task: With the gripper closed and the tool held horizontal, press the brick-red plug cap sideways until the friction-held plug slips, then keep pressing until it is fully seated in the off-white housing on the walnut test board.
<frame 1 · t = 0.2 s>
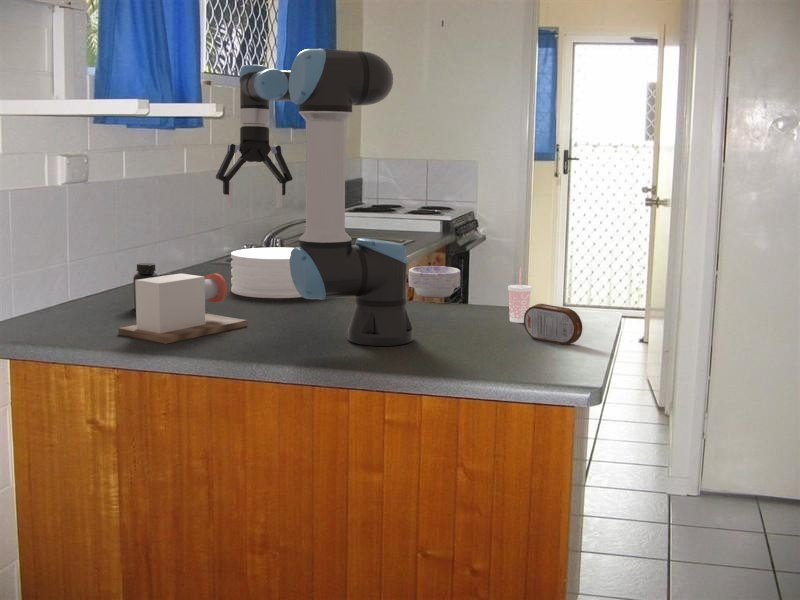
hand: (254, 207, 261), 27 cm above the worktop, tool pointing down, fingers open, 13 cm apart
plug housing: (170, 302, 232), on the test board, point 7 cm above the worktop
beverage cup: (518, 321, 255), on the worktop
plate stack: (278, 291, 297), on the worktop
tin: (551, 342, 231), on the worktop
plug: (195, 291, 238), point 9 cm above the worktop, slide at 0.0 cm
paper bowls: (434, 296, 292), on the worktop
test board: (171, 332, 233), on the worktop
supplement bottle: (146, 309, 264), on the worktop
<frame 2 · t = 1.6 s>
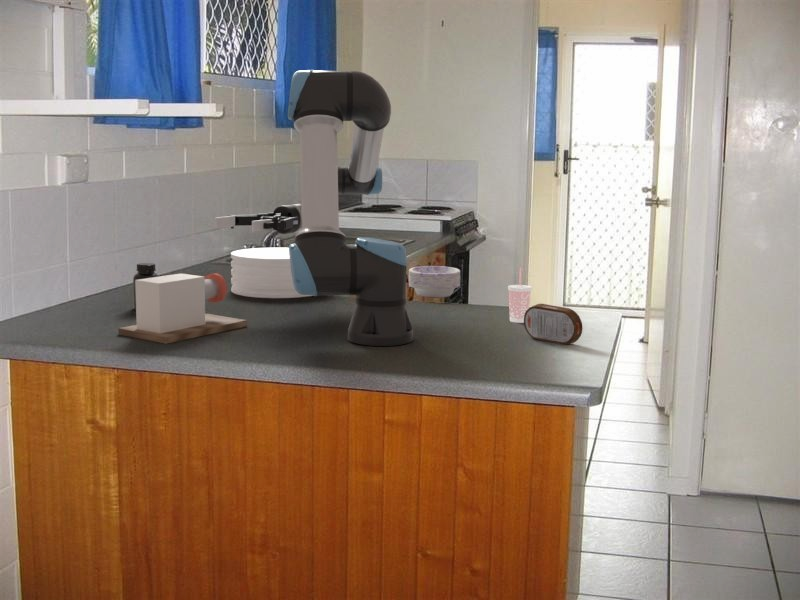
hand: (234, 224, 246), 24 cm above the worktop, tool horizontal, fingers open, 12 cm apart
nothing on the worktop moved.
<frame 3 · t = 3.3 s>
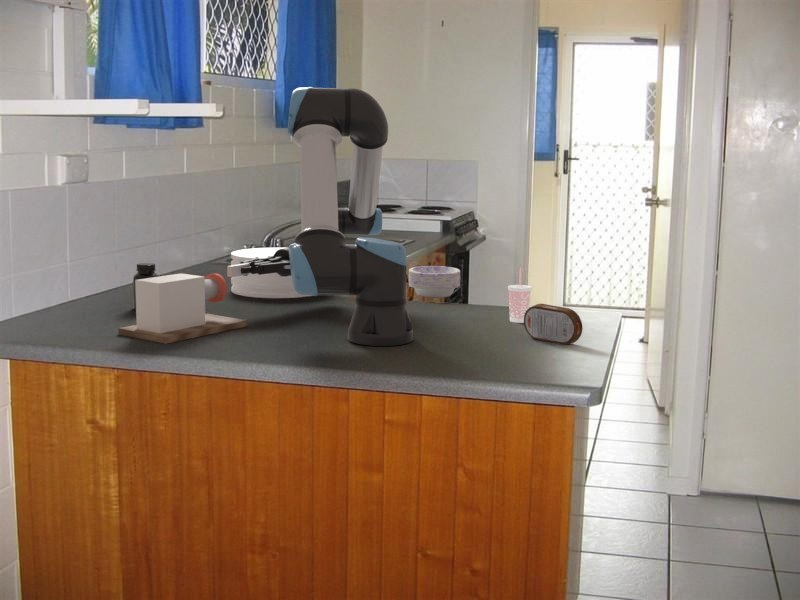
hand: (229, 271, 247), 12 cm above the worktop, tool horizontal, fingers closed
nothing on the worktop moved.
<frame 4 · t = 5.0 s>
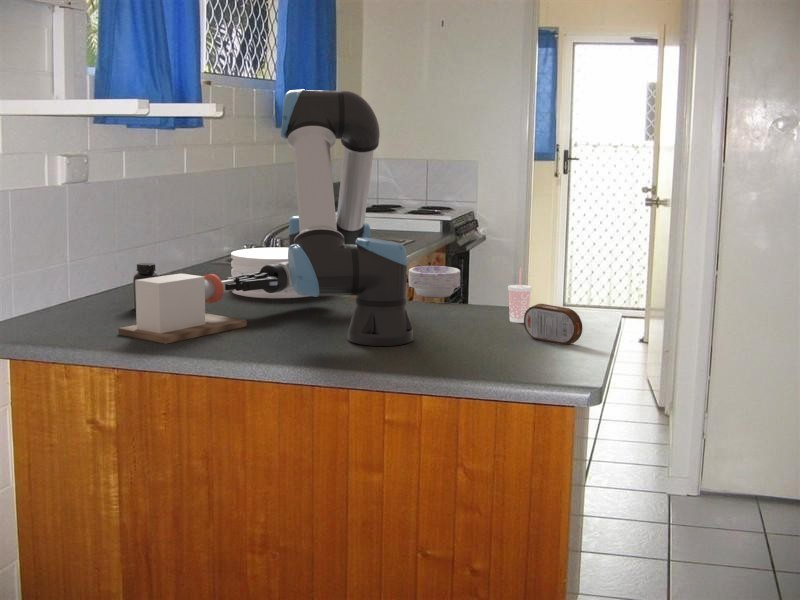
hand: (213, 288, 243), 9 cm above the worktop, tool horizontal, fingers closed
plug: (191, 291, 237), point 9 cm above the worktop, slide at 1.3 cm, touching gripper
everything else where it was.
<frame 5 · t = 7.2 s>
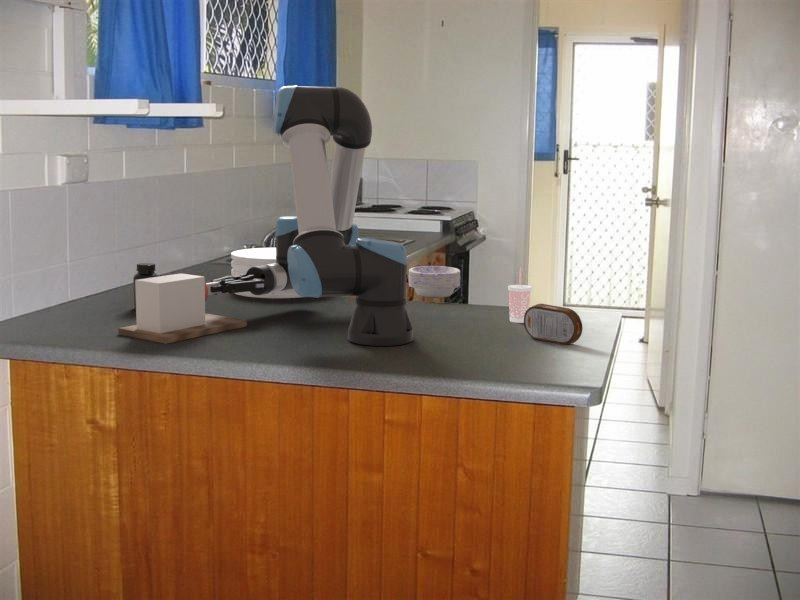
hand: (198, 290, 239), 9 cm above the worktop, tool horizontal, fingers closed
plug: (175, 294, 233), point 9 cm above the worktop, slide at 6.3 cm, touching gripper, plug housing
everything else where it was.
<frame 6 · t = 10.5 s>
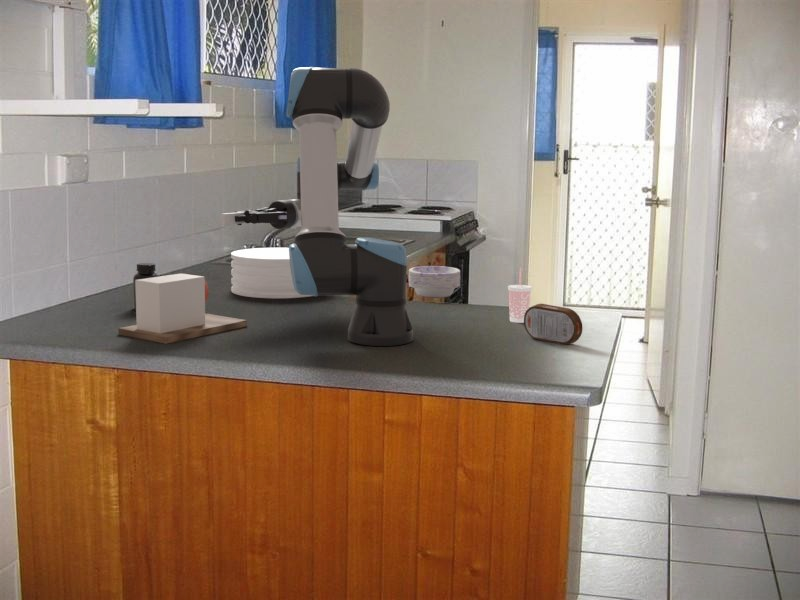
hand: (223, 219, 243), 26 cm above the worktop, tool horizontal, fingers closed
plug: (176, 294, 233), point 9 cm above the worktop, slide at 6.1 cm
everything else where it was.
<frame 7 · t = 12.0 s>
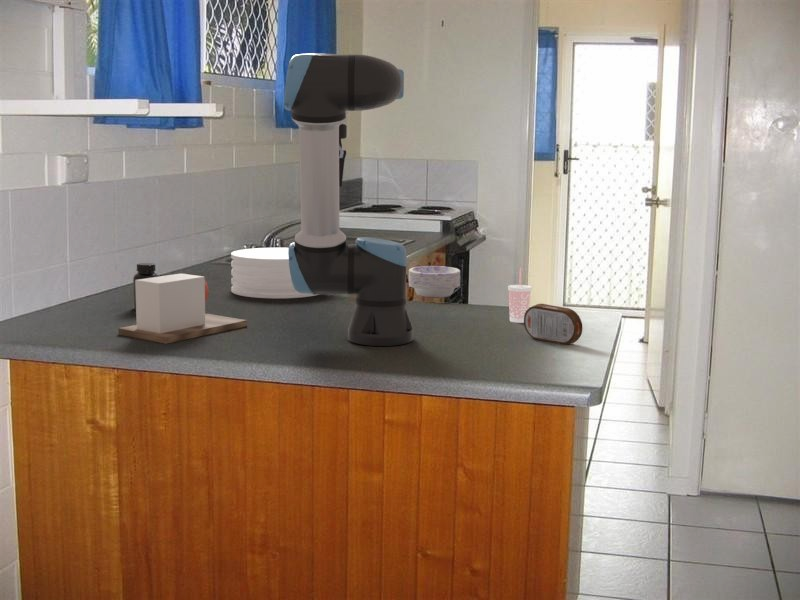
hand: (331, 213, 262), 26 cm above the worktop, tool pointing down, fingers closed
nothing on the worktop moved.
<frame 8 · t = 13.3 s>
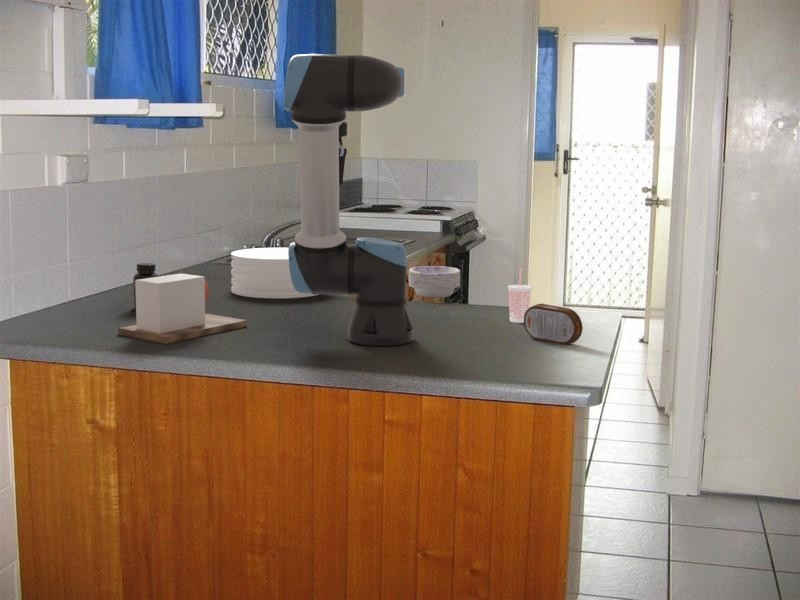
hand: (332, 211, 262), 26 cm above the worktop, tool pointing down, fingers closed
nothing on the worktop moved.
at the end: plug slide at 6.1 cm; the gripper is holding nothing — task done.
